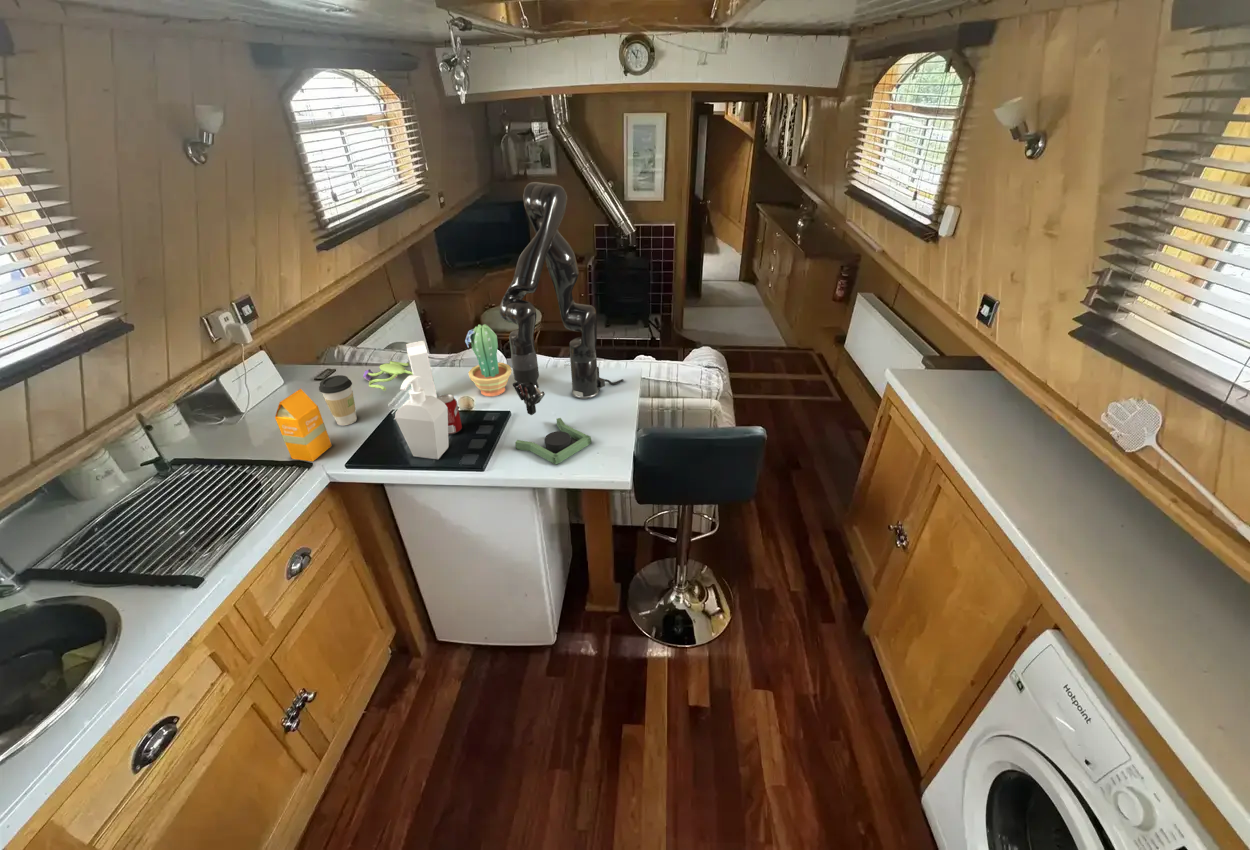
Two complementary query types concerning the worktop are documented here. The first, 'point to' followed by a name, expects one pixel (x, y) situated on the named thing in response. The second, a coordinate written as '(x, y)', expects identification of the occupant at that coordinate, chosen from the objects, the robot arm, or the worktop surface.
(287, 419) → the orange juice
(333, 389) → the coffee cup
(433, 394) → the milk
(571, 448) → the frame
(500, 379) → the potted cactus
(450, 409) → the soda can
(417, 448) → the soap bottle
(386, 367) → the figurine
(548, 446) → the puck
